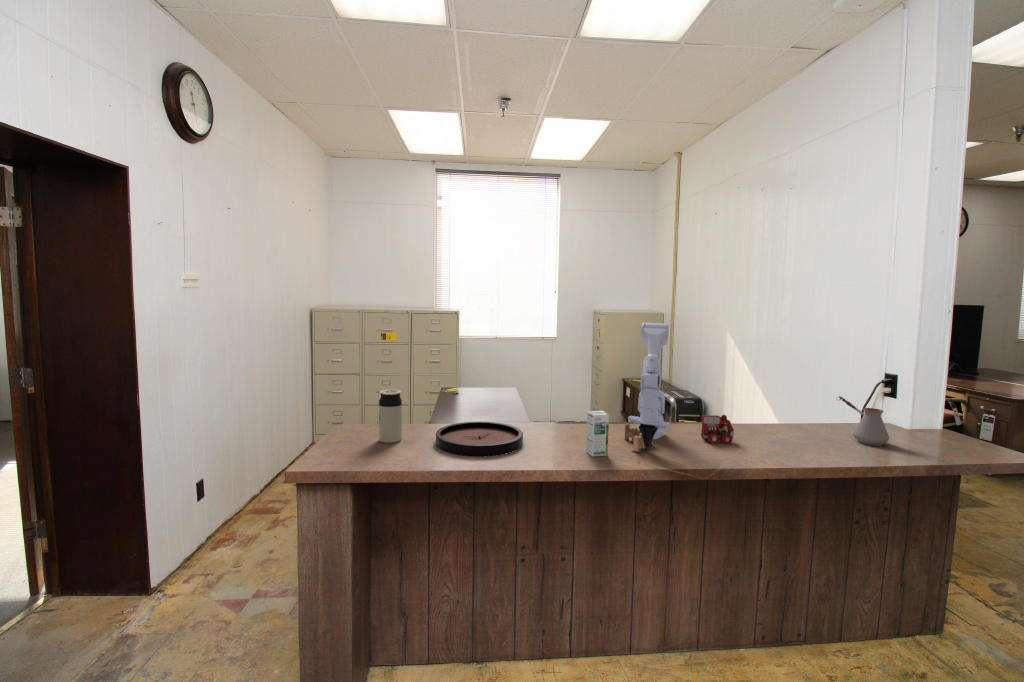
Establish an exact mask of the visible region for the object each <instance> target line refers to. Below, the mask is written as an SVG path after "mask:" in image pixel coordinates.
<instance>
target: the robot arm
mask: <svg viewBox="0 0 1024 682" xmlns="http://www.w3.org/2000/svg"><path fill="white" fill-rule="evenodd" d="M669 329H670V325H669V323H666V322H665V323H658V322H657V323H656V322H654V323H653V322H642V323H641V329H640V330H641V331H640V338H641V342H642V344H643V345H645V346H647V355H646V356H645V357H644V358H643V365H642V366H643V368H642V373H641V375H640V392H639V393H638V394H639V395H638V404H637V410H638V412H639V413H640V414H639V415H640V416H635V415H629V416H628V417H627V419H628V420H627V422H628V423H634V424H639V426H638V430H640V432H641V434H642V437H643V440H644V447H645V448H647V447H648V448H650V447H652V446H651V442H652V443H653V440H657V439H659V438H661V437H663V436H665V435H666V433H664V430H666V431H668V430H670V429H671V423H670V422H667V421H665V420H664V416H663V414H664V413H665V408H666V407H665V406H666V405H665V404H666V396H665V395H666V394H665V392H663V391H662V390H661V381H662V380H661V379H662V376H661V365H662V364H661V358H660V357H661V356H660V355H661V351H662V348H663V347H664V346H666V345H667V344H668V343H669Z"/></svg>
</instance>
